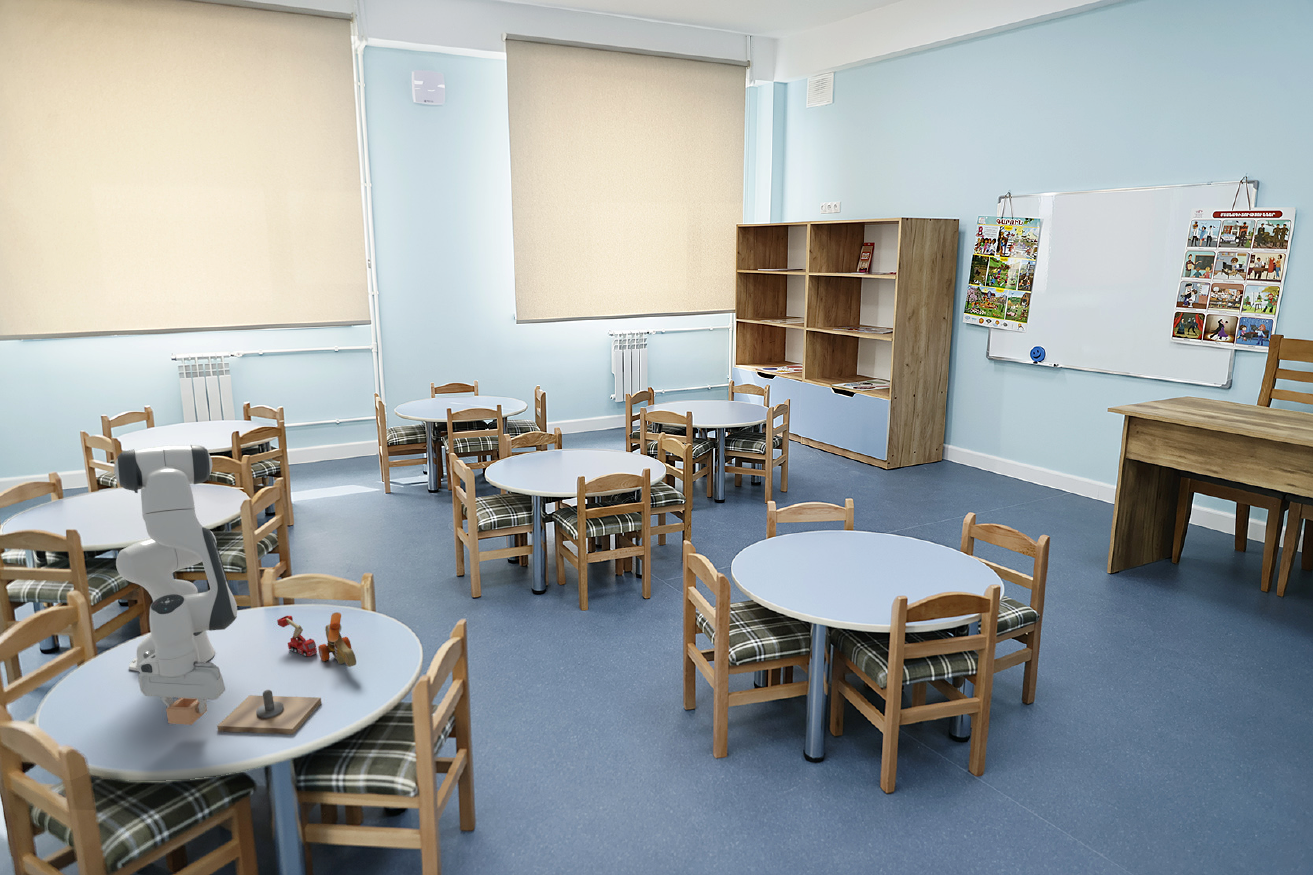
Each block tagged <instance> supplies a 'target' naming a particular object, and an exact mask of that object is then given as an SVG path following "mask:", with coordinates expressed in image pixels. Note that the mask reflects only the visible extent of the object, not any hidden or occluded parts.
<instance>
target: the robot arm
mask: <svg viewBox="0 0 1313 875" xmlns="http://www.w3.org/2000/svg"><path fill="white" fill-rule="evenodd" d="M212 469H213V460H212V457H211V455H210V453H209V451H208V449H207V448H205V446H202V445H197V444H190V445H163V446H156V447H155V446H154V447H148V448H142V449H136V450H135V448H134V449H130V450H125V451H123V452H120V453H119V454H118V455H117V459H116V460H115V462H114V466H113V472H114V477H115V480H116V481H117V483H118V484H119V486H120V487H121V488H123V489H124V490H128V491H133V492H134V493H135V494H138V492H139V490H140V498H141V500H140V501H141V512H142V519H143V521H144V524H145V527H146V528H145V529H146V533H147V536H149V538H147V539H144V540H140V541H137V542H135V543H133V544H130V545H128V546H127V547H124V548H123V549H121V550H120V551H119V552H118V554H117V557H116V560H115V566H116V569H117V572H118V574H119V575H120V576H121V577H122V578H123V579H124V580H126V581H128V582H130V583H133V584H136V585H139V586H141V587H143V588H144V589H145V590H146V591H147V592H148V594H149V595H150V597H151V600H152V602H151V604H150V606H149V615H148V625H149V631H150V633H149V634H148V635H147V636H145V638H144V639H143V640H141V641H140V642H139V644H138V646H137V647H136V657H134V658H133V659H132V660H131V662H129V665H128V670H130V671H135V672H139V673H138V683H139V684H138V685H139V689H140V692H141V693H142V694H143V695H144V696H145V697H160V699H161V701H162V703H163V704H164V705H166V706H167V708H168V707H169V706H170V705H172V704H173V703H174V702H175V701H174V698H178V699H179V698H192V699H197V700H198V702H200V704H199V705H198V706H196V707H195V710H196V713H203V712H205V710H206V706H207V702H208V700H212V701H214V700H218V699H219V698H220V697H221V696H222V695H223V694H224V692H226V686H225V682H224V679H223V676H222V673H221V669H220V667H219V666H217V665H216V664H214V662H210V661H209V660H212V659H213V658H214V656H215V654H216V651H215V649H214V647H213V645H212V643H211V641H210V638H209V636H208V633H207V631H211V632H212V631H221V630H222V631H223V630H226V629H227V628H228V627H230V626H231V625H233V622H235V620H236V619H237V617H238V616H237V615H238V605H237V601H236V599H235V597H234V595H233V592H232V590H231V588H230V584H229V580H228V578H227V573H226V571H225V568H224V564H223V561H222V558H221V555H220V551H219V549H218V548H219V547H218V545H217V543H218V542H217V538H216V536H215V535H214V534H215V533H214V532H213V531H211V530H210V529H209V528H208V527H207V526H203V525H202V524H201V523H200V522H199V519H198V516H197V515H196V510H195V509H196V508H195V501H194V500H195V499H194V496H193V489H192V487H191V485H198V484H202V483H204V482H206V481H208V479H209V478H210V476H211V473H212ZM199 563H202V566H203V568H204V572H205V577H206V578H207V579H206V580H207V582H208V585H209V590H207V591H203V592H199V591H198V588H197V586H196V585H195V584H194V583H192V582H190V581H189V580H186V579H185V580H184V579H177V578H176V579H174V576H173V574H174V572H177V571H180V570H183V569H186V568H188V567H192V566H195V565H199ZM205 704H206V706H205ZM167 708H166V709H167ZM205 713H206V712H205Z"/></svg>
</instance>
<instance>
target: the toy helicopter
mask: <svg viewBox="0 0 1313 875" xmlns="http://www.w3.org/2000/svg"><path fill="white" fill-rule="evenodd" d="M341 619H342V613H340V612H333V613H331V615H330V622H329V624H328V625H326V626H325V628H324V629H325V630H324V631H325V636H326V640H327V642H326V643H327V644H326V643H323V644H319V645H318V649H317V651H318V654H319V657H320V659H321V661H322V662H325V661H329V660H330V658H331V656H330V653H331V654H332V655H333V657H334V659H336V661H337V663H338V665H343V664H346V665H347V667H349V668H350V667H354V666H356V665H357V659H356V655H355V653H354V650H353V649H352V643H351V640H350V639H349V637H348V636H344V637H342V634H341V631H342V625H341V621H342V620H341Z"/></svg>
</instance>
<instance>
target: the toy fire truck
mask: <svg viewBox="0 0 1313 875" xmlns="http://www.w3.org/2000/svg"><path fill="white" fill-rule="evenodd" d="M276 622H277V625H278V627H280V628H285V627H287V626H291V627H293V628H294V631H293V634H292V637H291V638H290V641H289V642H287V647H288V649H289V650H290V651H292V653H295V654H300V655H303V656H304V657H311V656H313V655H315V654H317V653H318V649H317V644H316V641H315V640H314V638H313V639H312V638H309V639H307V640H306V638H305V637H304V636H303V635H302V633H303V631H304V629H303V627H302V626H301V624H300V625H299V624H297V623H295V622H294V621H293V616H292V615H285V616H283V617H281V618H277V621H276Z"/></svg>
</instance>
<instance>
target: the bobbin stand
mask: <svg viewBox="0 0 1313 875" xmlns="http://www.w3.org/2000/svg"><path fill="white" fill-rule="evenodd" d="M321 704H322V698H321V697H315V696H314V697H311V696H310V697H307V696H284V695H283V696H280V695H279V696H277V695H273V691H272V690H270V689H265V690H264V691H263V692H262V695H251V694H250V695H248V696H247V697H246V698H245V699H244V700H243V701H242V702H241V703H240V704H239V705H237V706H236V707H235V709H233V710H232V712H230V713H229V714H228V715H227V716H226V717H225V718H224V719H223V720H221V721H220V722H219V724H217V725H216V727H217V728H216V729H217V732H228V733H231V732H232V733H233V732H234V733H251V734H252V733H255V734H256V733H257V734H280V735H285V734H286V735H295V733H296V732H297V731H298V730H299V729H300V728H301V727H302V725H303V724H304V723H305V721H307V720H308V719H309V717H310V716H311V715H312V714H313V713H314V712H315V710H317V708H318V707H319V706H320V705H321Z"/></svg>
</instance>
